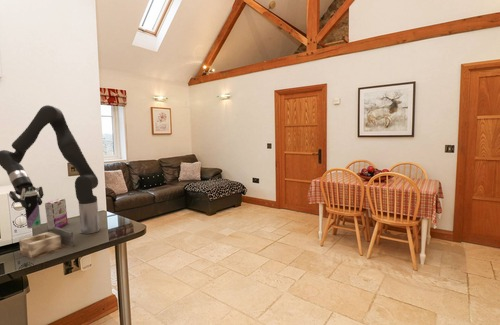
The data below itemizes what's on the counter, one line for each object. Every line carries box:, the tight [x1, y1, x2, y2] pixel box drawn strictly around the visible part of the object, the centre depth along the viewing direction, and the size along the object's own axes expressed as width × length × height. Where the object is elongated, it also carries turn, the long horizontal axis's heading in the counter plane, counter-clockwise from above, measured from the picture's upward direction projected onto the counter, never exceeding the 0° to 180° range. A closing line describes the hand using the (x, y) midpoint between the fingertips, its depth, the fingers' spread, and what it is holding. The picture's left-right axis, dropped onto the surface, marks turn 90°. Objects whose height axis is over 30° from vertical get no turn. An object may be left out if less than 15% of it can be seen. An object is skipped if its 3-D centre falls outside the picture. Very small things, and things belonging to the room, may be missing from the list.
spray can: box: [24, 188, 42, 229], centre depth 138 cm, size 6×6×20 cm
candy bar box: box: [44, 198, 69, 231], centre depth 167 cm, size 11×5×16 cm, turn 179°
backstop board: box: [17, 227, 75, 260], centre depth 132 cm, size 17×17×8 cm
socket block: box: [18, 231, 61, 257], centre depth 130 cm, size 12×12×6 cm
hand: (33, 205), depth 137 cm, fingers closed on spray can, 5 cm apart
